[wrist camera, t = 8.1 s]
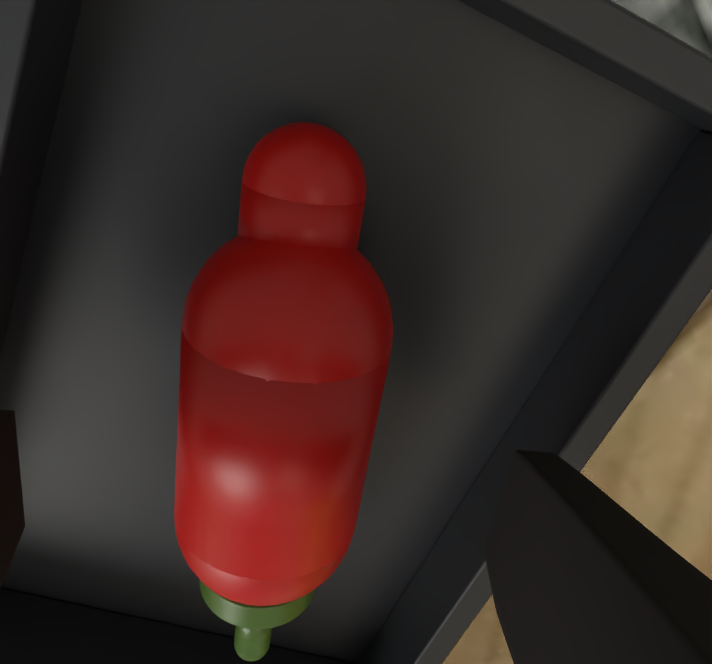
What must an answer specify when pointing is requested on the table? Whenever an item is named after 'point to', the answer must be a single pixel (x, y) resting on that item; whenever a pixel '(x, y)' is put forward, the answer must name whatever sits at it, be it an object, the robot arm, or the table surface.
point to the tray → (376, 243)
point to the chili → (280, 386)
